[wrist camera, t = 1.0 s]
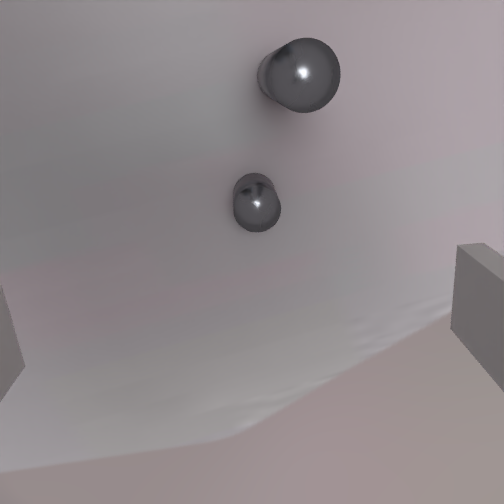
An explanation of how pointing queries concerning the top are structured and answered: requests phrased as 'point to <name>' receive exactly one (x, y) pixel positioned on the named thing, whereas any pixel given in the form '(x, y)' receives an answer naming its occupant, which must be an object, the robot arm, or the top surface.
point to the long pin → (300, 75)
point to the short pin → (256, 203)
